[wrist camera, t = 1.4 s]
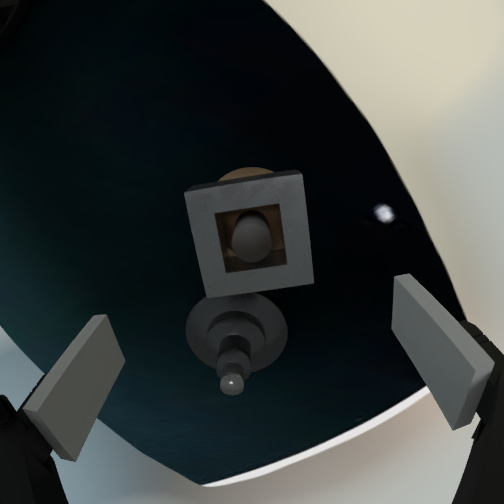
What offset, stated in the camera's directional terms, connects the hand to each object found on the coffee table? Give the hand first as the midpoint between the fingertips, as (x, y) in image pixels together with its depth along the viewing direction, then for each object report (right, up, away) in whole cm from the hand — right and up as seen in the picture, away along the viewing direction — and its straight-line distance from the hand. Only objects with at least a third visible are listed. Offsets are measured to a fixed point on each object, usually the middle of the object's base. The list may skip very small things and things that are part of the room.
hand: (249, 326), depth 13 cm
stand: (0, +7, +19) cm, 20 cm away
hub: (-2, -6, +24) cm, 25 cm away
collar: (0, +6, +15) cm, 16 cm away
